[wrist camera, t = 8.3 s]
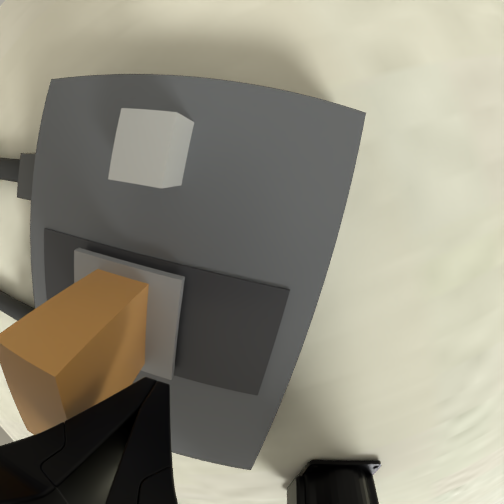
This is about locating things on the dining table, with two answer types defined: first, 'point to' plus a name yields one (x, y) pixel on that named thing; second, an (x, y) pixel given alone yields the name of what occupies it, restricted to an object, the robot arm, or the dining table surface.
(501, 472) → the dining table surface
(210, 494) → the dining table surface
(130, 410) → the robot arm
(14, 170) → the twin dark prongs
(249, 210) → the panel
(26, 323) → the breaker handle
